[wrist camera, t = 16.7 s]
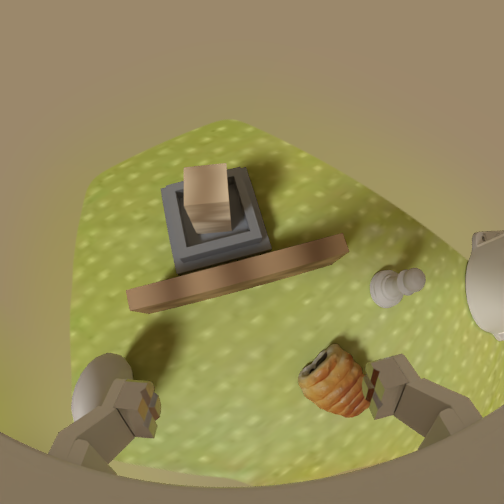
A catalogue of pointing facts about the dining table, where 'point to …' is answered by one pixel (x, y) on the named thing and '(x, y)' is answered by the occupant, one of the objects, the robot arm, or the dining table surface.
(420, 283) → the chess piece
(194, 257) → the seat block
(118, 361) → the donut
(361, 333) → the dining table surface
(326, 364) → the pastry
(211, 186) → the block
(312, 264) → the door edge
